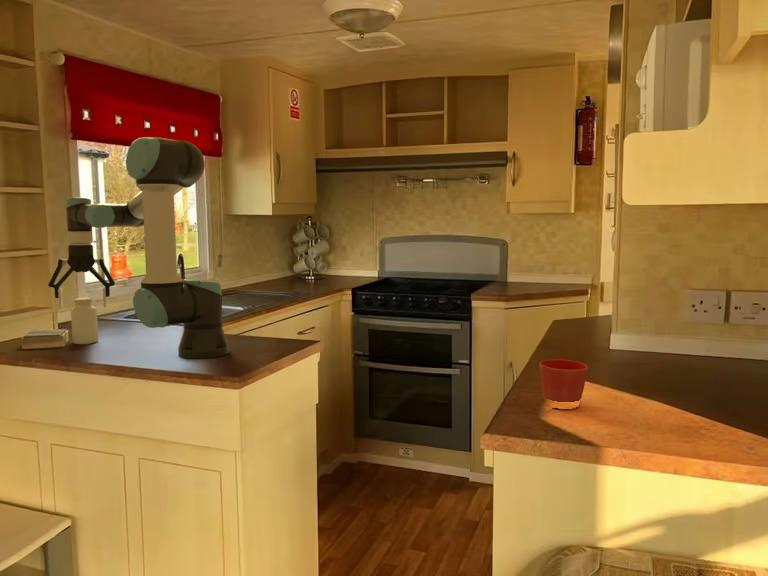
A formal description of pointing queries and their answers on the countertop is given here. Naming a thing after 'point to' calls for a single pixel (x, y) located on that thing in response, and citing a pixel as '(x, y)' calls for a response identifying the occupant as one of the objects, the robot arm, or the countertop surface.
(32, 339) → the stand
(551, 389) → the flower pot
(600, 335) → the countertop surface
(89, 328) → the pill bottle
